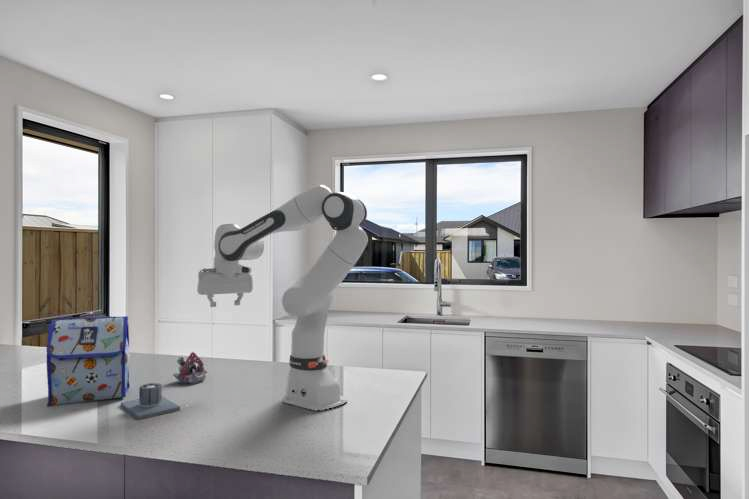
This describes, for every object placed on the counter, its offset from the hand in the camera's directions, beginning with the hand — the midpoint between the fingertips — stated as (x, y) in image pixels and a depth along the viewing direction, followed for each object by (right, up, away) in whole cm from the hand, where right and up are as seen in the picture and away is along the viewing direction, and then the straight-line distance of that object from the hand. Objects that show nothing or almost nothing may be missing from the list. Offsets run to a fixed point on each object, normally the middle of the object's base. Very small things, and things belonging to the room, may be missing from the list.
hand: (225, 306), depth 167 cm
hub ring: (-15, -27, -25) cm, 40 cm away
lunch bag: (-39, -28, -17) cm, 51 cm away
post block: (-15, -29, -25) cm, 41 cm away
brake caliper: (-15, -29, +5) cm, 33 cm away
